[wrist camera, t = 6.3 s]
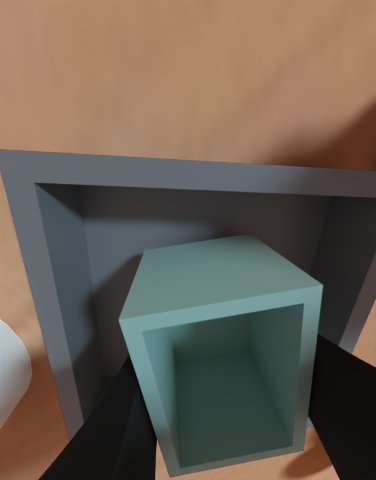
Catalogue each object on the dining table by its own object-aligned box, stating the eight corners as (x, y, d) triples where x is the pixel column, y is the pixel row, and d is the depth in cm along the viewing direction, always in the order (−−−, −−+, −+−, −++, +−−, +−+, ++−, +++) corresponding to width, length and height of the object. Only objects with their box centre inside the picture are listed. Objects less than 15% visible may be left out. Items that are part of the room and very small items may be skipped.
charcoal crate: (342, 175, 11) (429, 174, 7) (286, 368, 16) (320, 426, 12) (63, 159, 10) (-6, 149, 6) (96, 376, 15) (70, 443, 11)
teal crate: (250, 233, 10) (323, 284, 5) (253, 346, 12) (303, 450, 8) (144, 250, 10) (118, 319, 5) (170, 361, 12) (169, 477, 7)
